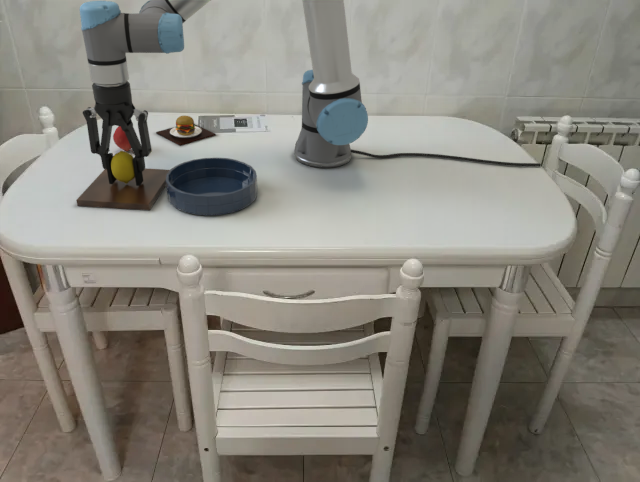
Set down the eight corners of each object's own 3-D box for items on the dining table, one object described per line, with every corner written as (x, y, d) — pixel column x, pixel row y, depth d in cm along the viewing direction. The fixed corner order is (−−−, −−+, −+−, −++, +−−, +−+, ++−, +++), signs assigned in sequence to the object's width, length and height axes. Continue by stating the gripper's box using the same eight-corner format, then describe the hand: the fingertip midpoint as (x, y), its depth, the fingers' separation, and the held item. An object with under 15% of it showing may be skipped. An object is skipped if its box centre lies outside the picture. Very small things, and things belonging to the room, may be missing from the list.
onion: (110, 152, 147) (105, 123, 143) (125, 145, 152) (120, 116, 147) (129, 156, 145) (124, 127, 141) (142, 149, 150) (138, 120, 146)
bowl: (262, 178, 137) (262, 160, 135) (249, 219, 120) (248, 198, 118) (181, 174, 138) (179, 155, 135) (156, 213, 121) (153, 192, 118)
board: (172, 175, 137) (172, 169, 136) (149, 210, 122) (148, 204, 121) (108, 171, 137) (107, 165, 137) (77, 206, 122) (76, 199, 121)
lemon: (132, 190, 126) (126, 157, 122) (109, 186, 127) (103, 154, 123) (143, 179, 131) (138, 147, 126) (121, 176, 131) (116, 145, 127)
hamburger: (191, 124, 167) (189, 106, 164) (215, 135, 160) (214, 117, 157) (156, 133, 160) (154, 115, 157) (180, 145, 153) (178, 126, 150)
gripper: (160, 79, 119) (170, 177, 131) (74, 74, 120) (93, 173, 132) (148, 89, 113) (161, 192, 125) (58, 84, 113) (80, 187, 126)
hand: (126, 182), depth 129 cm, fingers closed on lemon, 5 cm apart
